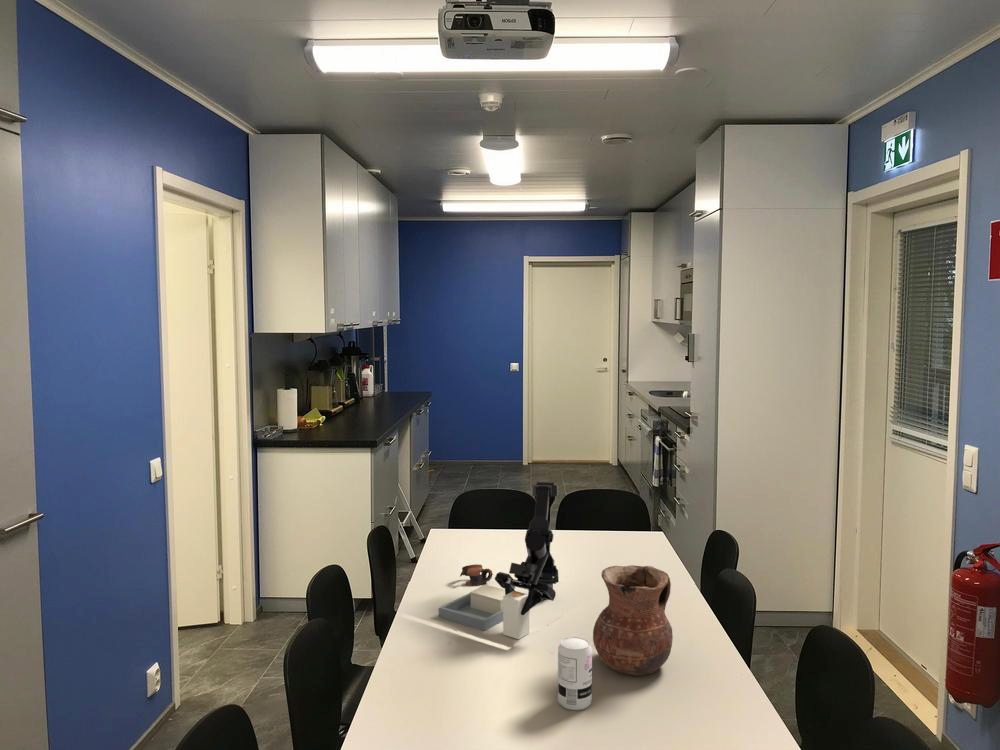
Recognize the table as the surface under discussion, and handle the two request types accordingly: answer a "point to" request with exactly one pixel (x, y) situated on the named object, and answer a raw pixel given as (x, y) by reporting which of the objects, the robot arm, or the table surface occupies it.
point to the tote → (469, 614)
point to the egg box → (487, 599)
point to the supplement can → (574, 673)
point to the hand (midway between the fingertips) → (513, 612)
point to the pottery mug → (476, 574)
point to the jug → (634, 620)
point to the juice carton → (515, 615)
